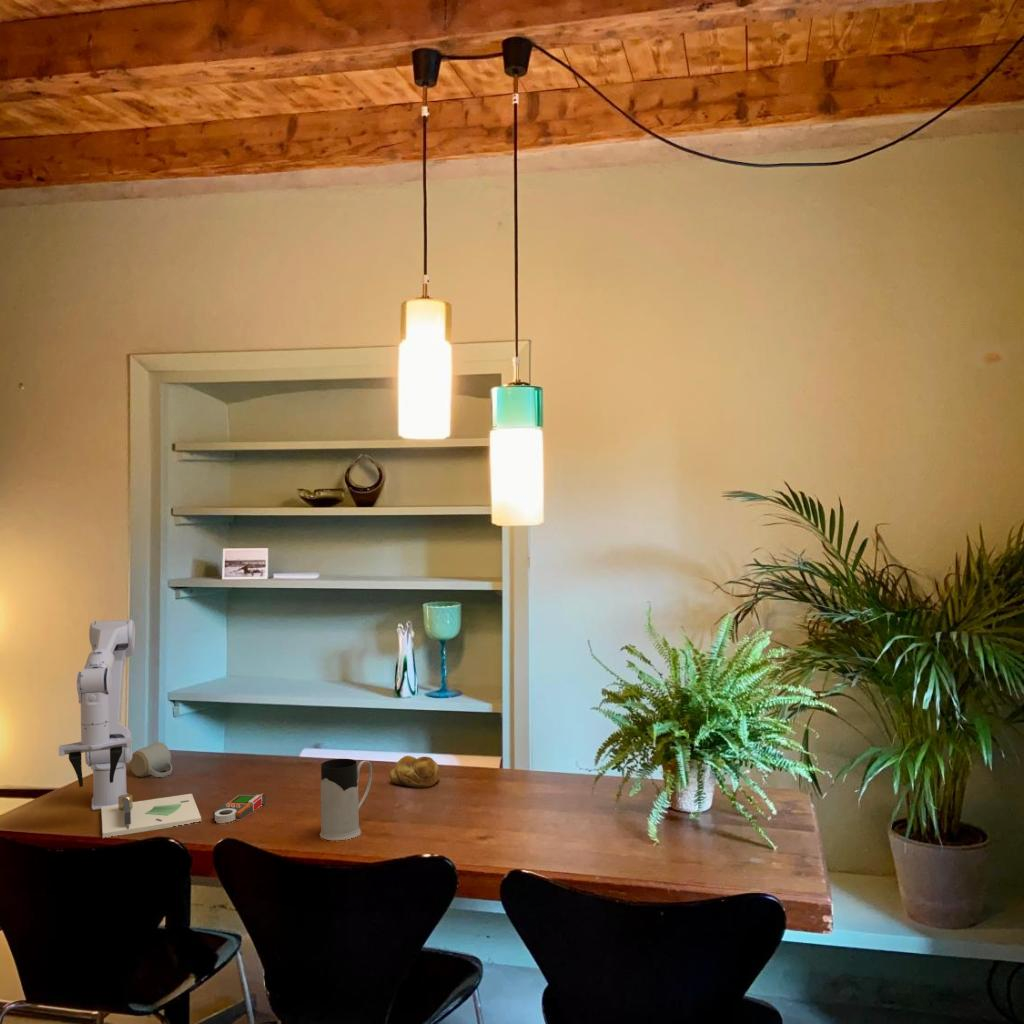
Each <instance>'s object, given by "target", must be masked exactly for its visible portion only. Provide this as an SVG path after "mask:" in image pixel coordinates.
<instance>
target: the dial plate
mask: <svg viewBox="0 0 1024 1024" xmlns="http://www.w3.org/2000/svg"><path fill="white" fill-rule="evenodd" d="M100 810H101V831H102V832H101V834H102V839H104V838H105V837H106V838H112V837H111V836H113V837H118V835H119V836H123V835H131V834H137V833H144V832H149V831H150V832H151V831H155V830H161V829H162V830H163V829H169V828H174V827H173V826H176V827H179V826H178V825H182V826H185V825H184V824H188V825H191V824H190V823H193V822H199V821H201V822H202V815H201V813H200V811H199V809H198V806H197V803H196V801H195V798H194V796H193V793H188V794H187V793H185V794H180V795H172V796H167V797H166V796H165V797H157V798H152V799H146V800H145V799H144V800H139V801H133V808H132V809H130V812H131V824H128V825H125V823H124V815H123V811H120V810H118V804H117V805H110V806H103V807H101V809H100Z"/></svg>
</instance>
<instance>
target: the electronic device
mask: <svg viewBox="0 0 1024 1024" xmlns="http://www.w3.org/2000/svg"><path fill="white" fill-rule="evenodd" d="M265 802H267V800H266V793H264V792H263V793H260V792H259V793H257V792H238V793H237V794H236V795H234V796H232V797H231V798H230V799H229V800H227V801H226V802H225V803H223V804H222V805H220V806H219V807H218V808H216V809H215V810H214V811H212V813H213V814H212V816H213V817H212V819H215V820H214V822H215V821H216V822H217V823H225V822H230V821H233V820H235V819H242V818H243V817H245V816H246V815H248V814H249V813H250V812H252V811H254V810H256V809H257V808H259V807H260V806H262V807H263V805H265V804H266V803H265ZM264 803H265V804H264ZM262 804H263V805H262ZM259 809H260V808H259ZM217 823H216V824H217Z"/></svg>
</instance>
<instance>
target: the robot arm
mask: <svg viewBox="0 0 1024 1024" xmlns="http://www.w3.org/2000/svg"><path fill="white" fill-rule="evenodd" d="M88 633H89V634H88V635H89V638H88V639H89V643H90V646H91V650H92V651H91V652H90V653H89V654H88V656H87V659H86V662H85V665H84V668H83V669H82V670H81V671H77V672H78V673H77V675H76V676H77V677H76V689H77V690H76V691H77V694H78V695H77V696H78V697H77V698H78V704H80V740H81V741H79V742H73V743H68V744H67V743H65V744H59V745H58V756H59V757H63V756H65V755H68V760H69V762H70V764H71V766H72V767H73V770H74V772H75V773H76V774H75V775H76V778H77V781H78V786H79V788H82V787H84V778H83V770H82V769H83V768H82V754H83V753H84V759H85V764H86V765H87V767H90V770H91V771H92V779H93V780H92V781H93V782H92V785H93V786H92V788H93V794H92V795H93V797H91V810H92V811H96V810H101V807H103V806H110V805H117V804H118V797H119V796H121V795H125V794H129V793H128V792H127V764H130V761H131V760H132V754H133V753H134V752H133V749H134V748H133V745H134V744H133V734H132V732H131V730H130V728H128V727H126V726H124V725H123V724H121V723H122V722H121V721H122V720H121V719H122V706H123V705H122V704H123V691H124V690H123V686H124V685H123V684H124V672H125V671H124V670H125V664H126V661H127V659H128V658H129V657H131V656H133V655H134V651H135V646H136V645H135V644H136V643H135V641H136V625H135V621H134V620H133V619H131V618H130V619H124V620H123V619H122V620H120V619H119V620H118V619H117V620H101V621H99V620H98V621H97V620H93V621H92V622H91V623H90V625H89V632H88Z"/></svg>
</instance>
